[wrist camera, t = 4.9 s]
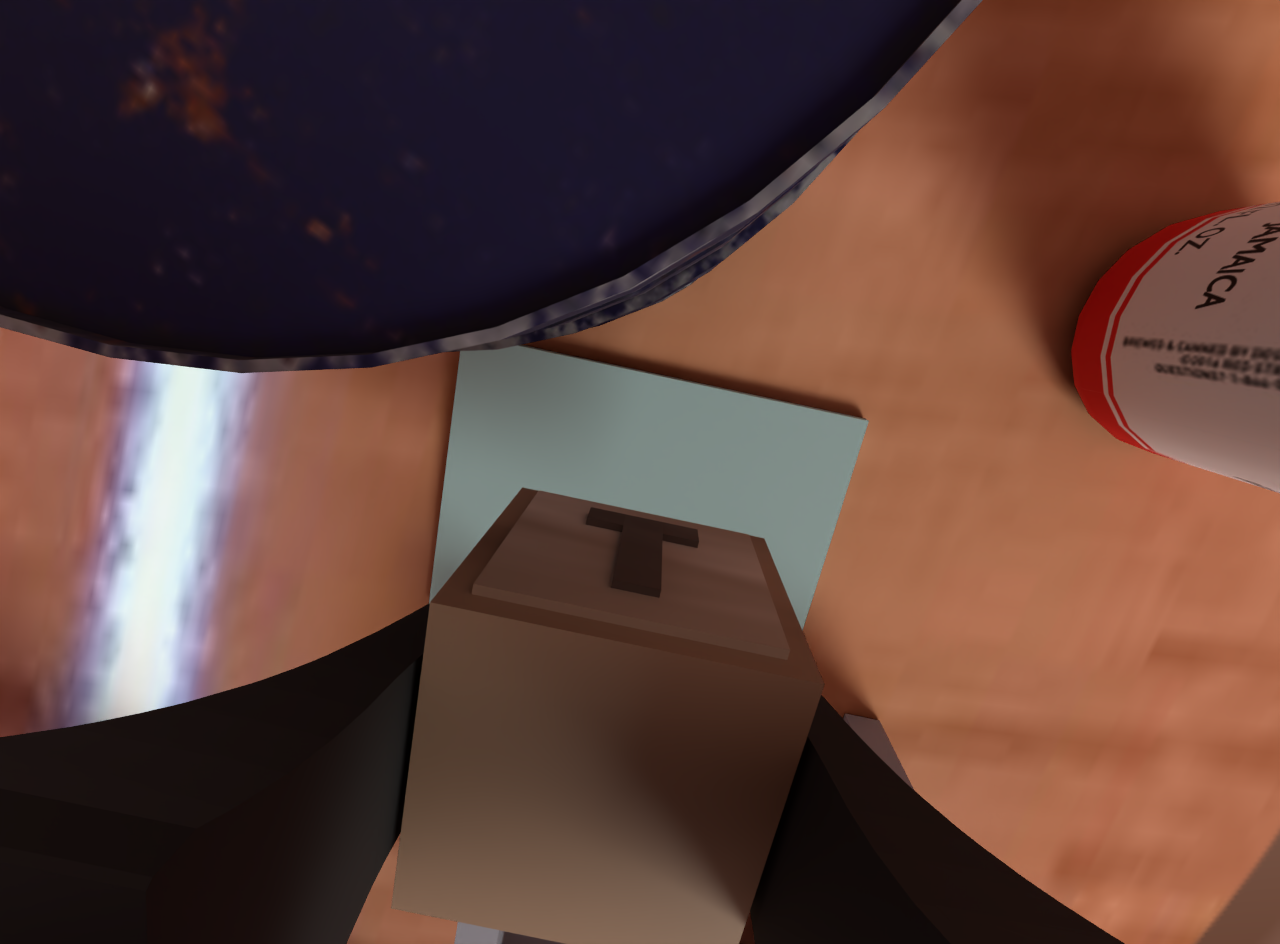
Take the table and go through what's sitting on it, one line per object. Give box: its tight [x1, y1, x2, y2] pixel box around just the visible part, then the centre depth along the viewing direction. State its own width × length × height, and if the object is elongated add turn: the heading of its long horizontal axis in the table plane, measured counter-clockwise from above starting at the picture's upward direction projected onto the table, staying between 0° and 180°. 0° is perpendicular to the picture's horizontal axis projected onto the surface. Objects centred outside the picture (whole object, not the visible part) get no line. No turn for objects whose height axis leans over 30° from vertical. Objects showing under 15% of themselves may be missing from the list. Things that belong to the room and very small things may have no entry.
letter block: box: [391, 487, 824, 944], centre depth 11 cm, size 5×5×5 cm
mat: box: [429, 345, 869, 630], centre depth 19 cm, size 12×9×1 cm
